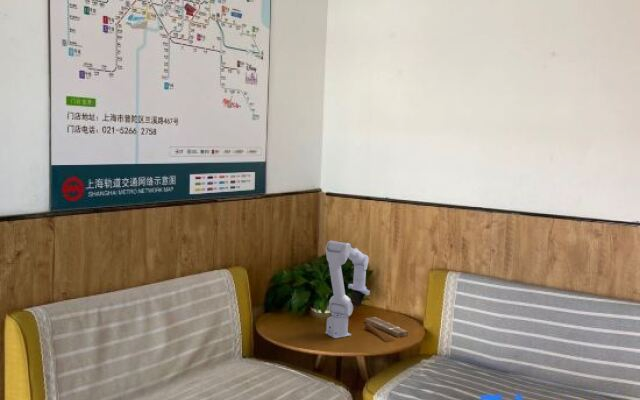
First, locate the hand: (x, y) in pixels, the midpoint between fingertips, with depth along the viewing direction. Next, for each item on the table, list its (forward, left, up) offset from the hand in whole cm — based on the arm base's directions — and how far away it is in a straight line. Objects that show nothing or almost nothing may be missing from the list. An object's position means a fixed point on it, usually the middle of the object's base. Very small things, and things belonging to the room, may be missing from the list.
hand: (357, 306), depth 278 cm
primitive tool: (0, -17, -10) cm, 19 cm away
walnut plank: (+9, -11, -9) cm, 17 cm away
